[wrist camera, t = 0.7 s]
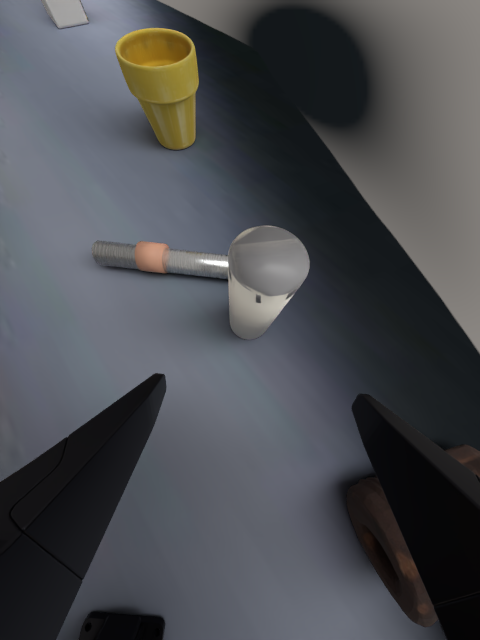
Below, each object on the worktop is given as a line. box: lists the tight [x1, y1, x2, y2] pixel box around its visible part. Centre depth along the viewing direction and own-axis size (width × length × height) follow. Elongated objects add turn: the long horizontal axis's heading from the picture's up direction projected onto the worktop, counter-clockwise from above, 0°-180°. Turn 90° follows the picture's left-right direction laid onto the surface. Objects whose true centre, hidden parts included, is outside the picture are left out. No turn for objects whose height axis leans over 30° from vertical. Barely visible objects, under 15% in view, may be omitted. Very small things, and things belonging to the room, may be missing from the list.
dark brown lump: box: [346, 444, 480, 627], centre depth 15 cm, size 10×15×15 cm
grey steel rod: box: [92, 241, 229, 279], centre depth 24 cm, size 4×26×4 cm, turn 84°
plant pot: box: [115, 28, 199, 150], centre depth 29 cm, size 10×10×10 cm
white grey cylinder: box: [228, 226, 309, 340], centre depth 17 cm, size 5×5×13 cm
